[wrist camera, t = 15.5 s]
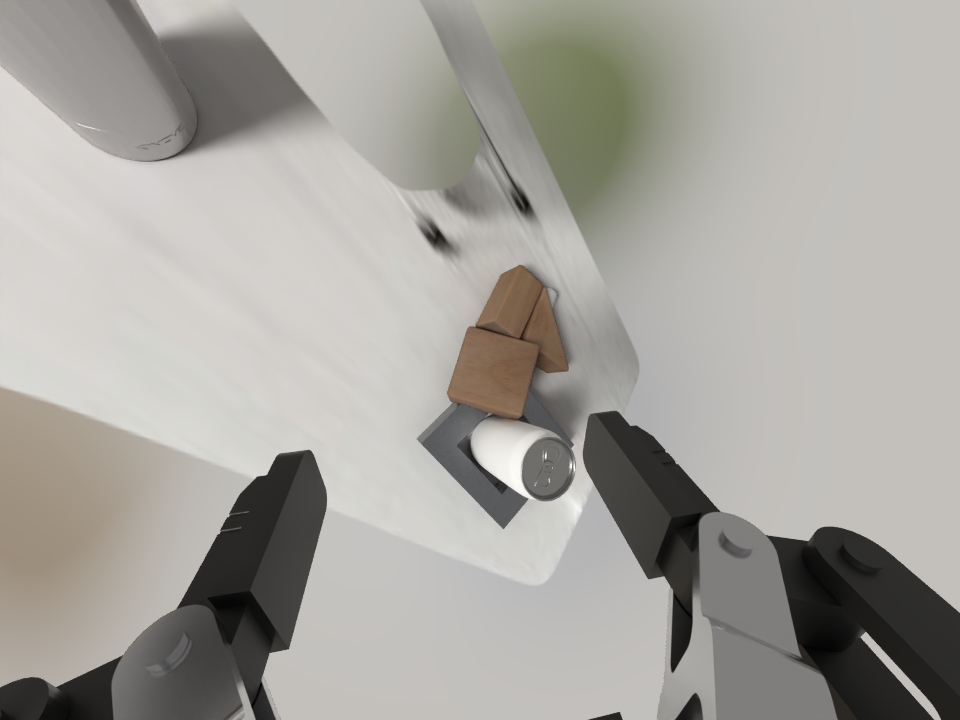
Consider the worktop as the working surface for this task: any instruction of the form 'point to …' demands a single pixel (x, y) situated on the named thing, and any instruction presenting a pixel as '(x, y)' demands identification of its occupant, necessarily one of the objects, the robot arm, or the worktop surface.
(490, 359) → the wooden blocks
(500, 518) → the gray square frame plate
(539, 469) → the can
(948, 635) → the robot arm
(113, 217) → the worktop surface
